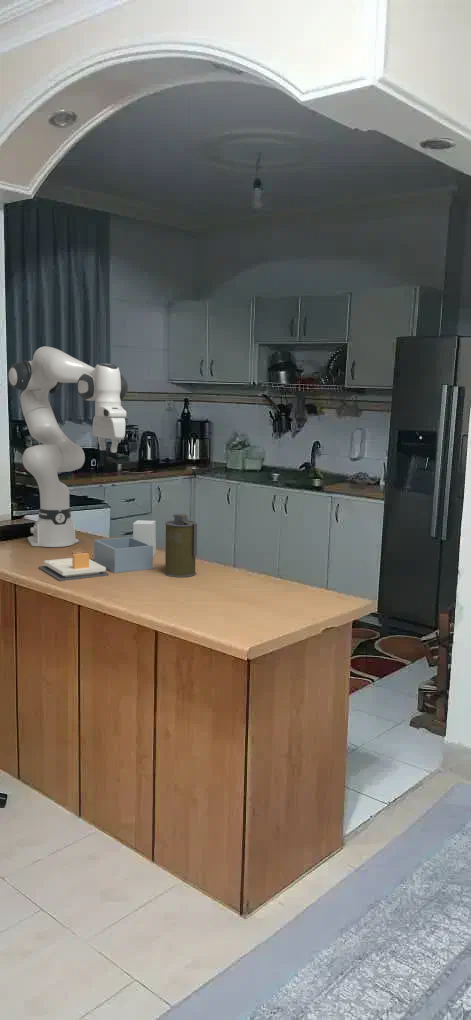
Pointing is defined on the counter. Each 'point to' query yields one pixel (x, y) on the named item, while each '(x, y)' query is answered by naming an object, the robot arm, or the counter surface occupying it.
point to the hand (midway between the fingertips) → (108, 451)
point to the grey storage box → (123, 554)
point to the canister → (180, 547)
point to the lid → (75, 565)
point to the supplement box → (145, 532)
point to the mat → (61, 577)
